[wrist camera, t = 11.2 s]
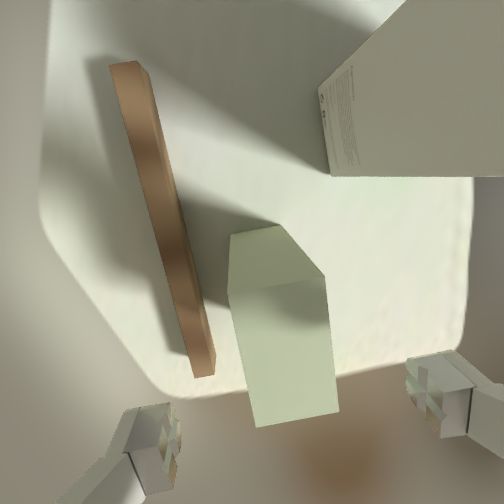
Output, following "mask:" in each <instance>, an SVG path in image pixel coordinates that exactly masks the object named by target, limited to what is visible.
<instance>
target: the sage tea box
mask: <svg viewBox="0 0 504 504" xmlns="http://www.w3.org/2000/svg"><path fill="white" fill-rule="evenodd" d="M227 296H228V301H229V306H230V310H231V315H232V319H233V324H234V328H235V333H236V338H237V342H238V347H239V351H240V356H241V360H242V365H243V370H244V374H245V379H246V383H247V388H248V392H249V397H250V401H251V406H252V410H253V415H254V420H255V424H256V427H262V426H266V425H272V424H277V423H281V422H288V421H293V420H298V419H303V418H308V417H314V416H319V415H324V414H329V413H334V412H339V406H338V397H337V387H336V378H335V368H334V359H333V350H332V340H331V331H330V322H329V312H328V303H327V294H326V284H325V276H324V275H323V274H322V272H321V271H320V270H319V269H318V268H317V267H316V265H315V264H314V263H313V262H312V261H311V259H310V258H309V257H308V256H307V255H306V254H305V252H304V251H303V250H302V249H301V248H300V247H299V245H298V244H297V243H296V242H295V241H294V240H293V238H292V237H291V236H290V235H289V234H288V233H287V231H286V230H285V229H284V228H283V227H282V226H281V225H278V226H272V227H267V228H261V229H256V230H250V231H245V232H240V233H234V234H230V248H229V267H228V285H227Z"/></svg>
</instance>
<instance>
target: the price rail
mask: <svg viewBox="0 0 504 504" xmlns="http://www.w3.org/2000/svg"><path fill="white" fill-rule="evenodd" d="M109 68H110V71H111V75H112V79H113V82H114V86H115V90H116V93H117V97H118V101H119V104H120V108H121V112H122V115H123V119H124V123H125V126H126V130H127V134H128V137H129V141H130V144H131V148H132V152H133V155H134V159H135V163H136V166H137V170H138V174H139V177H140V181H141V185H142V188H143V192H144V196H145V199H146V203H147V207H148V210H149V214H150V218H151V221H152V225H153V228H154V232H155V236H156V239H157V243H158V247H159V250H160V254H161V258H162V261H163V265H164V269H165V272H166V276H167V280H168V283H169V287H170V291H171V294H172V298H173V301H174V305H175V309H176V312H177V316H178V320H179V323H180V327H181V331H182V334H183V338H184V342H185V345H186V349H187V353H188V356H189V360H190V364H191V367H192V371H193V374H194V378H199V377H205V376H210V375H214V373H215V363H216V353H215V349H214V344H213V340H212V336H211V332H210V328H209V324H208V320H207V315H206V311H205V307H204V303H203V299H202V295H201V290H200V286H199V282H198V278H197V274H196V270H195V265H194V261H193V257H192V253H191V249H190V245H189V240H188V236H187V232H186V228H185V224H184V220H183V215H182V211H181V207H180V203H179V199H178V195H177V191H176V186H175V182H174V178H173V174H172V170H171V166H170V161H169V157H168V153H167V149H166V145H165V141H164V136H163V132H162V128H161V124H160V120H159V116H158V111H157V107H156V103H155V99H154V95H153V91H152V86H151V82H150V78H149V74H148V73H147V72H146V71H145V70H144V68H143V67H142V66H141V65H140V64H139V63H138V62H137V61H131V62H125V63H119V64H113V65H109Z"/></svg>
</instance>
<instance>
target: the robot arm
mask: <svg viewBox="0 0 504 504" xmlns="http://www.w3.org/2000/svg"><path fill="white" fill-rule="evenodd" d="M406 368H407V370H408V371H409V372H410V373H409V375H408V376H407V377H406V388H407V392H408V395H409V397H410V399H411V400H412V402H413V403H414V405H415V406H416V407H417V408H418V409H420V410H422V411H423V412H425V413H426V421H427V422H428V423H429V425H430V426H431V427H432V429H433V430H434V431H435V433H436V434H437V435H438V436H439V438H440V439H441V438H448V437H454V436H460V435H467V434H468V436H469V437H470V438H472V439H473V440H475V441H476V442H478V443H480V444H481V445H483V446H484V447H485V448H487V449H489V450H490V451H492V452H493V453H495V454H496V455H498V456H499V457H501V458H502V459H504V385H502V384H500V383H499V384H494V383H493V382H491V381H490V380H489V379H488V378H487V377H485V376H484V375H483V374H482V373H481V372H479V371H478V370H477V369H476V368H475V367H473V366H472V365H471V364H470V363H469V362H468V361H466V360H465V359H464V358H463V357H462V356H460V355H459V354H458V353H457V352H456V351H453V350H447V351H442V352H437V353H432V354H427V355H422V356H417V357H411V358H408V359H407V361H406ZM174 414H175V408H174V405H173V403H171V402H168V403H161V404H155V405H149V406H142V407H139V408H132V409H127V410H126V411H125V412H124V413H123V415H122V417H121V420H120V422H119V424H118V427H117V429H116V431H115V434H114V436H113V438H112V441H111V443H110V445H109V448H108V450H107V452H106V455H105V457H102V458H99V459H98V460H97V461H96V462H95V463H94V464H93V465H92V466H91V467H90V468H89V469H88V470H87V471H86V472H85V473H84V474H83V475H82V476H81V477H80V478H79V479H78V480H77V481H76V482H75V483H74V484H73V485H72V486H71V487H70V488H69V489H68V490H67V491H66V492H65V493H64V494H63V495H62V496H61V497H60V498H59V499H58V500H57V501H56V502H55V503H54V504H142V502H143V501H144V499H145V496H146V495H150V494H155V493H159V492H163V491H168V490H173V488H174V482H175V477H176V472H177V464H176V461H175V458H176V457H177V455H178V454H179V453H180V448H181V427H180V423H179V420H177V419H176V418H174Z"/></svg>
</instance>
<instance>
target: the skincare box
mask: <svg viewBox="0 0 504 504" xmlns="http://www.w3.org/2000/svg"><path fill="white" fill-rule="evenodd" d="M318 96H319V102H320V109H321V116H322V123H323V130H324V136H325V143H326V149H327V155H328V162H329V168H330V174H331V176H332V177H360V176H368V177H500V176H503V177H504V0H406V1H405V2H404V3H403V4H402V5H401V6H400V7H399V8H398V9H397V10H396V11H395V12H394V13H393V14H392V15H391V16H390V17H389V18H388V19H387V20H386V21H385V22H384V23H383V24H382V25H381V26H380V27H379V28H378V29H377V30H376V31H375V32H374V33H373V34H372V35H371V36H370V37H369V38H368V39H367V40H366V41H365V42H364V43H363V44H362V45H361V46H360V47H359V48H358V49H357V50H356V51H355V52H354V53H353V54H352V55H351V56H350V57H349V58H348V59H347V60H346V61H345V62H344V63H343V64H342V65H341V66H340V67H339V68H338V69H337V70H336V71H335V72H334V73H332V74H331V75H330V76H329V77H328V78H327V79H326V80H325V81H324V82H323V83H322V84H321V85H320V86H319V87H318Z"/></svg>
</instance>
